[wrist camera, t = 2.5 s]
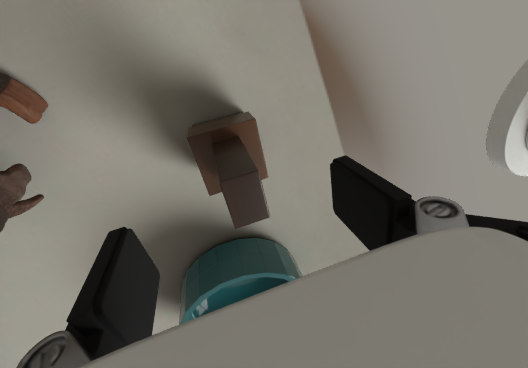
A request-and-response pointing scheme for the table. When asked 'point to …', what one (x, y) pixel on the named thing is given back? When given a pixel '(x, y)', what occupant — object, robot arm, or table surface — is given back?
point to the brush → (232, 164)
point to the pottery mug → (17, 176)
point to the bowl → (234, 275)
